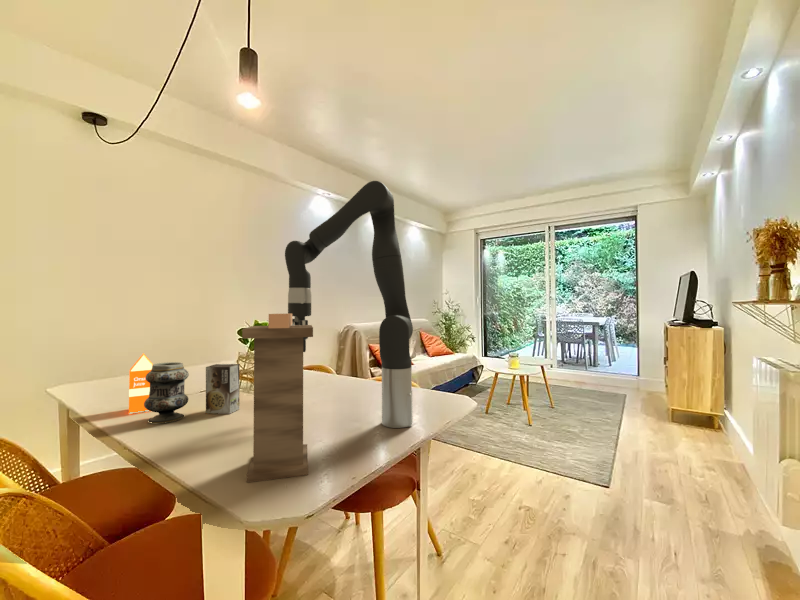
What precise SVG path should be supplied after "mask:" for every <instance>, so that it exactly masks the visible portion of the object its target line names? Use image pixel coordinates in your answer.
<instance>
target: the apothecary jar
mask: <svg viewBox="0 0 800 600" xmlns="http://www.w3.org/2000/svg"><path fill="white" fill-rule="evenodd" d="M189 376H190V374H189V371H188V370H187V369H185V367H184V363H183V362H178V361H177V362H176V361H175V362H173V361H172V362H171V361H170V362H168V361H167V362H159V363H157V362H156V363H153V365H152V369H151V371H150V372H149V373H148V374H147V375H146V377H145V378H146V381H147V382H149V383H150V392H149V397H148V398H147V399H146V400H145V402H144V407H145V408H146V409H147V410H149V411H152V412H153V413H158V414H157V415H154V416H152V417H151V418H149V419H148V420H147V422H148V421H149V422H152V423H161V424H166V423H165V422H169V423H173V422H172V421H174V422H177V421H180V420H183V419H184V418H185V415H184V413H180V412H178V411H177V410H180V409H183V407H185V406H186V404H187V403H188V402H189V396H188V395H187V394H185V381H186V380H187V379H188V377H189ZM175 411H177V412H175ZM152 412H151V413H152ZM182 418H183V419H182Z"/></svg>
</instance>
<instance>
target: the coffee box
mask: <svg viewBox="0 0 800 600" xmlns="http://www.w3.org/2000/svg"><path fill="white" fill-rule="evenodd" d="M238 409H239V410H240V363H218V364H217V363H216V364H212V365H209V366H206V367H205V414H206V413H218V414H222V415H225V414H229V415H230V414H232V412H233V413H235V412H237V411H239V410H238ZM236 410H237V411H236Z"/></svg>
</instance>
